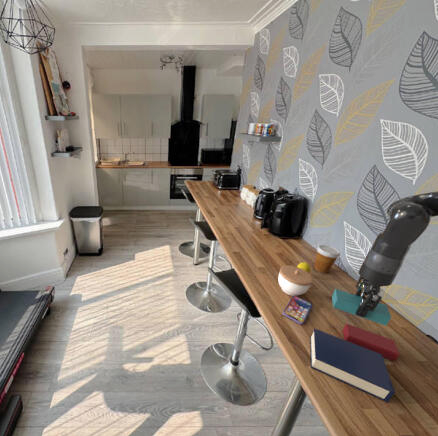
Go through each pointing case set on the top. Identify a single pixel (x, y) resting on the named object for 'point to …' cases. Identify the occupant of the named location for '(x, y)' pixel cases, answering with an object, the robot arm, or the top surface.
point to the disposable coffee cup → (325, 258)
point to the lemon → (304, 266)
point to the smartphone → (298, 309)
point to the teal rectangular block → (352, 303)
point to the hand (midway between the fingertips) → (358, 308)
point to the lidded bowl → (294, 280)
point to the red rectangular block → (371, 341)
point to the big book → (351, 364)
